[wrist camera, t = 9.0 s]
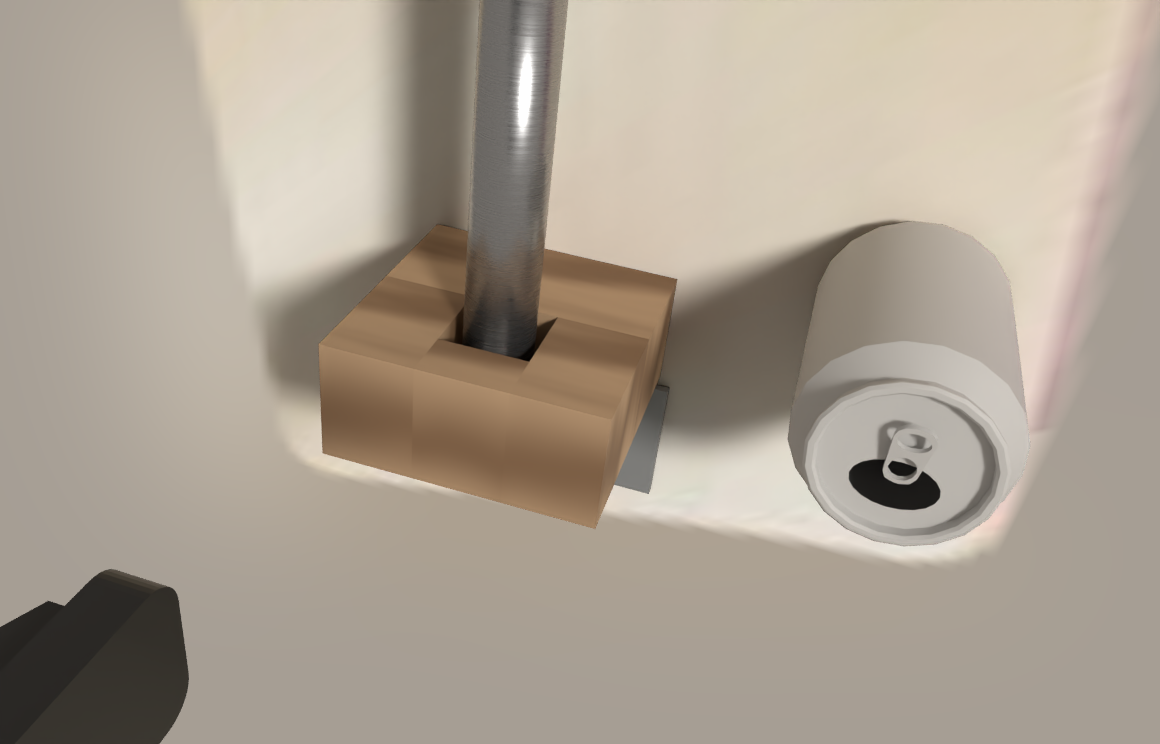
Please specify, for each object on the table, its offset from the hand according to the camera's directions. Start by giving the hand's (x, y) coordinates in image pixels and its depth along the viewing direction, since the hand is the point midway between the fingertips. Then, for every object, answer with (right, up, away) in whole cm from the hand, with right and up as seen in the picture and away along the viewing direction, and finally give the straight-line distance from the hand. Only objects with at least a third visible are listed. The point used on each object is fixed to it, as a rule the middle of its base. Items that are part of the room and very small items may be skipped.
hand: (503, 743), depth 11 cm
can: (+14, +7, +31) cm, 35 cm away
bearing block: (-1, +7, +36) cm, 37 cm away
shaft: (-1, +12, +27) cm, 30 cm away
